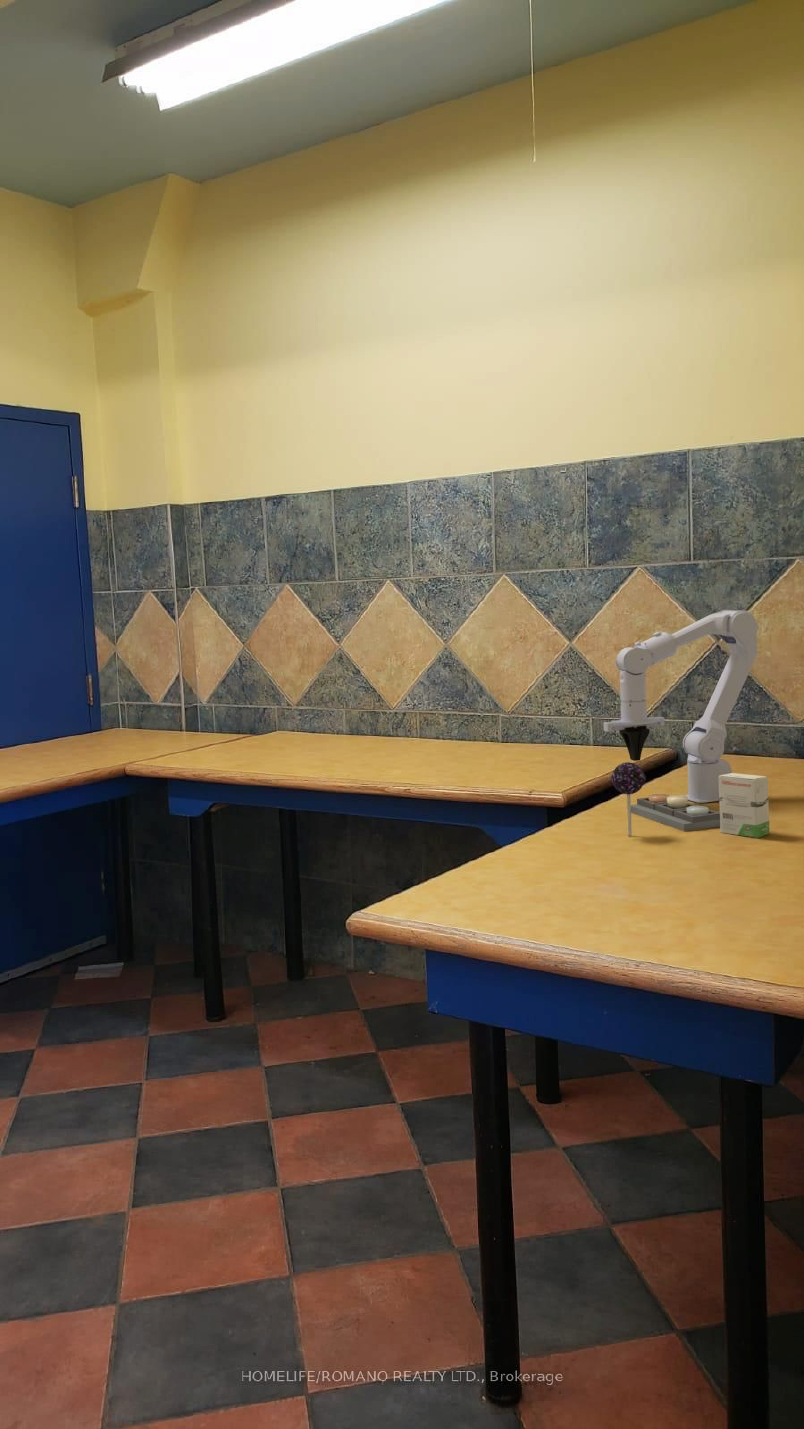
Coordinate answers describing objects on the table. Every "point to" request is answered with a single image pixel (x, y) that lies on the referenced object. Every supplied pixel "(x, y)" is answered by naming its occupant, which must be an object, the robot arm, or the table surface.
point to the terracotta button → (658, 798)
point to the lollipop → (628, 783)
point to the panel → (675, 815)
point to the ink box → (744, 805)
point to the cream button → (677, 801)
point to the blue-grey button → (697, 810)
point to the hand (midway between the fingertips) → (635, 760)
